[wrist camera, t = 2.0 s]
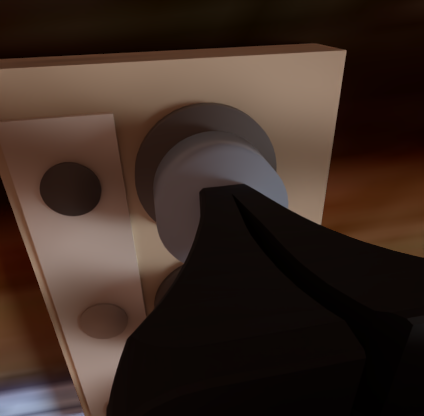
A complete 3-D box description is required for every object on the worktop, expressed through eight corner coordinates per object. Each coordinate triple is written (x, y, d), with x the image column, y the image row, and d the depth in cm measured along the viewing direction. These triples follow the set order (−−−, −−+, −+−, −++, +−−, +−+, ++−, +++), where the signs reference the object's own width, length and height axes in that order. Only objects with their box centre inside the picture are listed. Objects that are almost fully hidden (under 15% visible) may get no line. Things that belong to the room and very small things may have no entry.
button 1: (265, 229, 14) (283, 261, 12) (159, 242, 13) (163, 278, 11) (270, 126, 12) (294, 147, 10) (146, 136, 11) (148, 160, 9)
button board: (279, 376, 25) (296, 419, 22) (101, 410, 23) (96, 461, 21) (315, 43, 14) (354, 52, 12) (-8, 59, 13) (-44, 73, 10)
